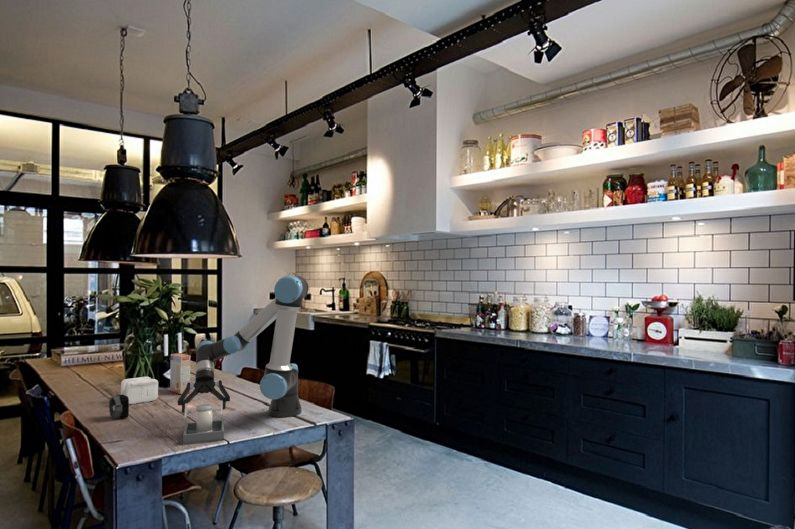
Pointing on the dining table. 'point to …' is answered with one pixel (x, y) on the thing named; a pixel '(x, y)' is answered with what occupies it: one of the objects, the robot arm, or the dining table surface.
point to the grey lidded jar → (204, 418)
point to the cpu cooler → (119, 406)
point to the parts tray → (193, 437)
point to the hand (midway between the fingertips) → (203, 417)
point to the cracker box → (179, 372)
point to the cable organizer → (140, 389)
